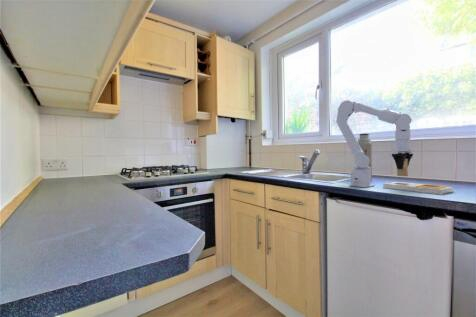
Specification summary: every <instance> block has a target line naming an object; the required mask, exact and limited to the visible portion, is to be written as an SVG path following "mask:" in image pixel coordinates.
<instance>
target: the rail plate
mask: <svg viewBox="0 0 476 317" xmlns="http://www.w3.org/2000/svg"><path fill="white" fill-rule="evenodd" d="M382 186H383V188H384V189H390V190H397V191H398V190H400V191H408V192H417V193H423V194H424V193H425V194H431V195H432V194H434V195H440V196H441V195H446V194H449V193H453V192H454V187H453V186H447V185H438V184H428V183H427V184H425V183H416V182H415V183H414V182H404V181H403V182H402V181H392V182H385V183H384V182H383V183H382Z"/></svg>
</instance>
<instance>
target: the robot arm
mask: <svg viewBox="0 0 476 317" xmlns="http://www.w3.org/2000/svg"><path fill="white" fill-rule="evenodd" d="M353 113H354V114H357V113H364V114H367V115H370V116H371V115H372V116H373V117H377V119H378V121H381V122H382V121H383V122H385V123H388V124H391V125H395V133H394V136H395V137H394V138H395V140H394V142H395V143H394V144H395V145H394V148H395V149H392V154H391V156H392V158H393V160H394V163H395V166H396V170H397V169H403V166H404V160H405V159H408V166H410V161H411V159H412V158H413V156H414V153H413V151H414V149H413V148H411V125H410V124H411V123H412V121H413V120H412V119H413V118H412V117H411V116H410V115H409V114H407V113H402V112H401V111H396V110H395V111H394V110H392V109H391V108H389V107H387V108H382V109H379V108H375V107H372V106H370V105H366V104H364V103H361V102H356V101H350V100H344V101H342V102H340V104H339V106H338V108H337V115H336V124H337V126H338V128H339V130H340V132H341V134H342V136H343V137H344V139H345V141H346V143H347V145H348V147H349V149H350V150H351V152H352V155H353V157H354V159H355V160H354V164H355V166H354V169H353V170H352V171H350V183H349V186H351V187H358V188H369V187H374V186H375V184H371V169H370V168H371V167H369V166H368V165H369V163H370V159H369V158H368V157H367V156H366V155H365V154H364V152H363V151H362V149H361V147H360V145H359V143H358V139H356V137H355V134H354V133H353V131H352V129H351V127H350V124H348V123H349V122H348V121H349V118H350V117H351V115H352V114H353Z"/></svg>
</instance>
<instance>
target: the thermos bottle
mask: <svg viewBox="0 0 476 317" xmlns="http://www.w3.org/2000/svg"><path fill="white" fill-rule="evenodd" d="M369 135H370V134H369V133H359V138H358V139H357V142H358V143H359V145H360V147H361V149H362V151H363V152H364V154H365V155H366V156H367V157H368V158H369V159H370V163H369V165H368V166H369V167H371V168H370V169H371V180H372V178H373V176H372V174H373V172H372V171H373V166H372V165H373V164H372V163H373V156H372V154H373V152H372V150H373V149H372V148H373V143H372V142H371V138H370V136H369Z"/></svg>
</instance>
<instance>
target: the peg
mask: <svg viewBox="0 0 476 317" xmlns="http://www.w3.org/2000/svg"><path fill="white" fill-rule="evenodd" d="M408 167H409V165H408V159H405V160H404V166H403V169H397V168H396V175H397V177H408V176H409V174H408V171H409V170H408V169H409V168H408Z"/></svg>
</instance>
